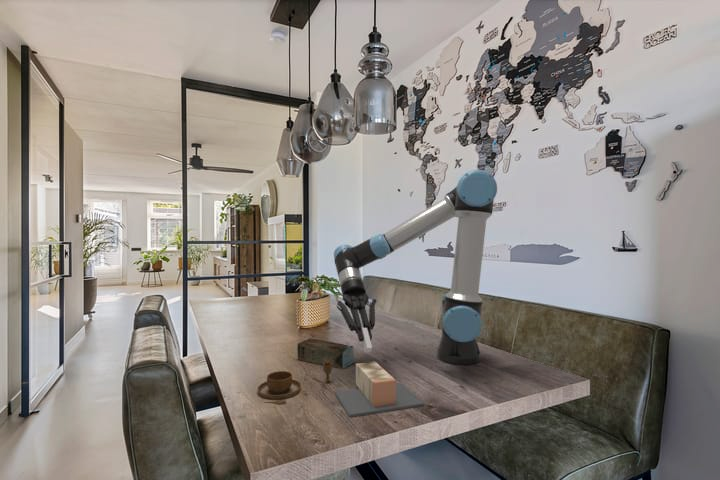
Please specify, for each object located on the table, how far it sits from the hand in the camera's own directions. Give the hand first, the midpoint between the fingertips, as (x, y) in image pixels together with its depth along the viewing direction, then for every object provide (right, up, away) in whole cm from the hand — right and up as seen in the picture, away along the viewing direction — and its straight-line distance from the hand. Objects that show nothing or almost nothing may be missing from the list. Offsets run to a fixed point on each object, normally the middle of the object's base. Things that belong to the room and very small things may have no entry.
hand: (368, 350), depth 104 cm
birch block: (-1, -7, +3) cm, 8 cm away
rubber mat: (+2, -11, -7) cm, 13 cm away
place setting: (-21, -12, -1) cm, 24 cm away
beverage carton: (-15, -11, +24) cm, 30 cm away
